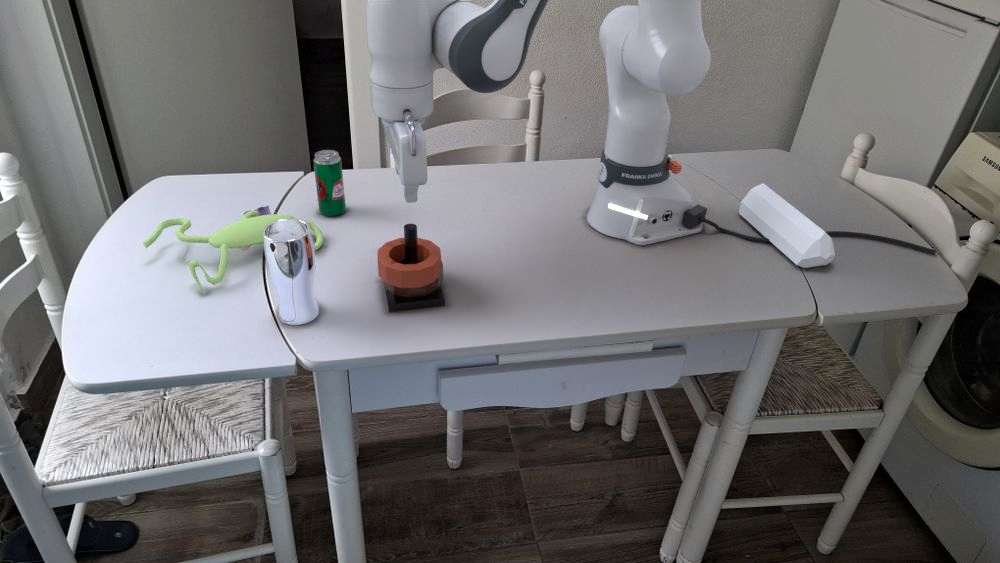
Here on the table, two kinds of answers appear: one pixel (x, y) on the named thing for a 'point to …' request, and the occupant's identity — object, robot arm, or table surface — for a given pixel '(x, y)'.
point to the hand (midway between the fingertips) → (406, 186)
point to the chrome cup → (292, 269)
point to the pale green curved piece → (229, 237)
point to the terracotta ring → (409, 273)
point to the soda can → (329, 183)
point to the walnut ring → (415, 291)
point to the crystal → (787, 228)
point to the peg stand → (411, 257)
